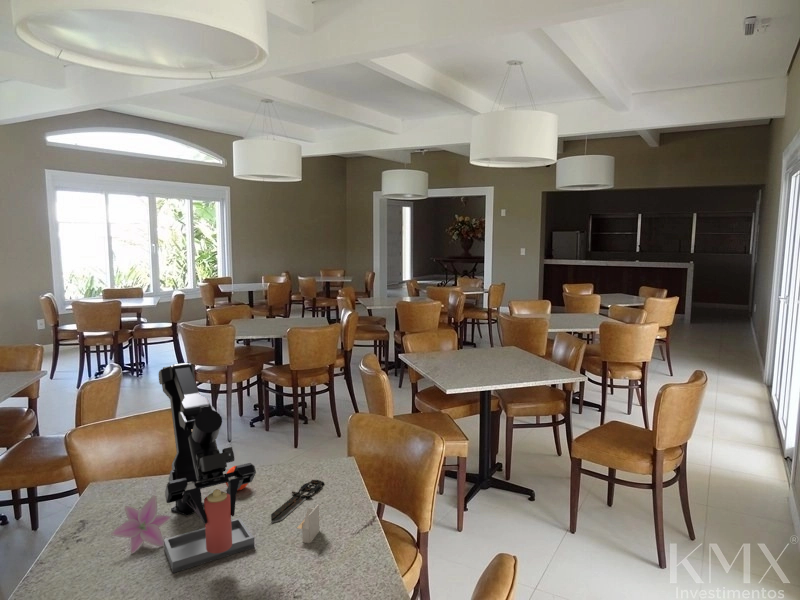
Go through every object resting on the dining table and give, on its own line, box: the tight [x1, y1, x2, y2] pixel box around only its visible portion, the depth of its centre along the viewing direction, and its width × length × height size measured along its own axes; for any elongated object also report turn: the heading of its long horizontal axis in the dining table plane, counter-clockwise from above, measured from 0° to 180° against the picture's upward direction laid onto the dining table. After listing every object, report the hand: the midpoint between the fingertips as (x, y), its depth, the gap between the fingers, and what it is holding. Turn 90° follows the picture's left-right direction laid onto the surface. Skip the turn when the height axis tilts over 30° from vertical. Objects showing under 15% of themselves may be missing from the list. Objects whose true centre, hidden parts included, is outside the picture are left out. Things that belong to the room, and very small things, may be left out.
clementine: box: [225, 465, 249, 492], centre depth 158 cm, size 8×7×7 cm
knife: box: [270, 479, 325, 524], centre depth 150 cm, size 25×6×1 cm, turn 154°
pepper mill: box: [203, 488, 232, 553], centre depth 118 cm, size 5×5×13 cm
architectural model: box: [296, 504, 321, 544], centre depth 133 cm, size 3×7×7 cm, turn 165°
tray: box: [163, 517, 255, 574], centre depth 128 cm, size 11×18×2 cm, turn 123°
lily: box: [110, 494, 172, 554], centre depth 130 cm, size 12×12×10 cm
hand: (219, 519), depth 117 cm, fingers closed on pepper mill, 5 cm apart
